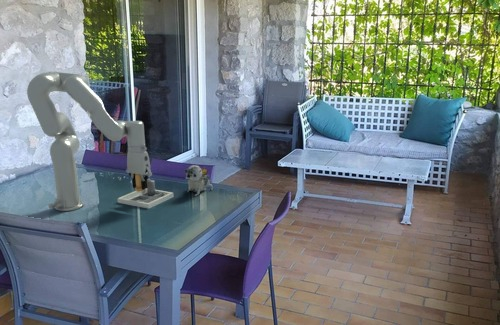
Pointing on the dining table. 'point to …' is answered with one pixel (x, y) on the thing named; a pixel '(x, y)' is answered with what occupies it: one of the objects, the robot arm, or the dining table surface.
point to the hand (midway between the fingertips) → (140, 187)
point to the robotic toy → (197, 179)
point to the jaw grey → (151, 188)
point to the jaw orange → (138, 183)
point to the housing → (145, 198)
